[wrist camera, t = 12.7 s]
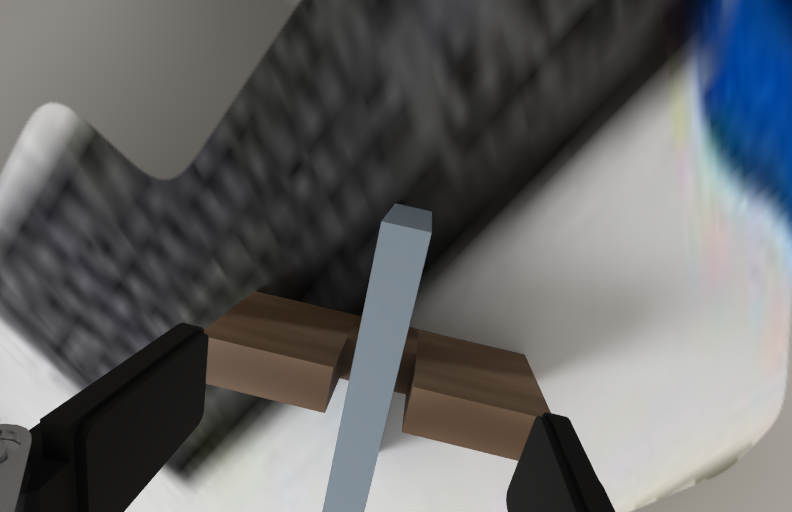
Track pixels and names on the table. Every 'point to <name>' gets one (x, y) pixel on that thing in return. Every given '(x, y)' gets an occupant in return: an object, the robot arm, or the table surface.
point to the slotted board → (417, 378)
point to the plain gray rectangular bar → (378, 354)
